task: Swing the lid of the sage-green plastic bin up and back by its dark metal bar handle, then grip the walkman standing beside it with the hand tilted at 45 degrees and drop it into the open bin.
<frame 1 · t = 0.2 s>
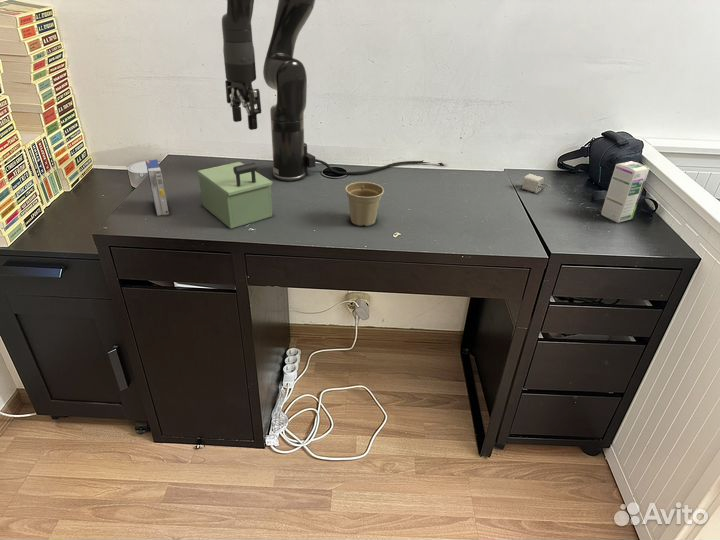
hand: (245, 125, 134), 17 cm above the table, tool pointing down, fingers open, 8 cm apart
walkman: (161, 209, 128), on the table
syrup box: (615, 217, 134), on the table
flower pot: (363, 221, 127), on the table
lid: (233, 168, 122), point 12 cm above the table, hinge at 0.0°
bin: (237, 211, 129), on the table
usb wall charger: (535, 191, 147), on the table
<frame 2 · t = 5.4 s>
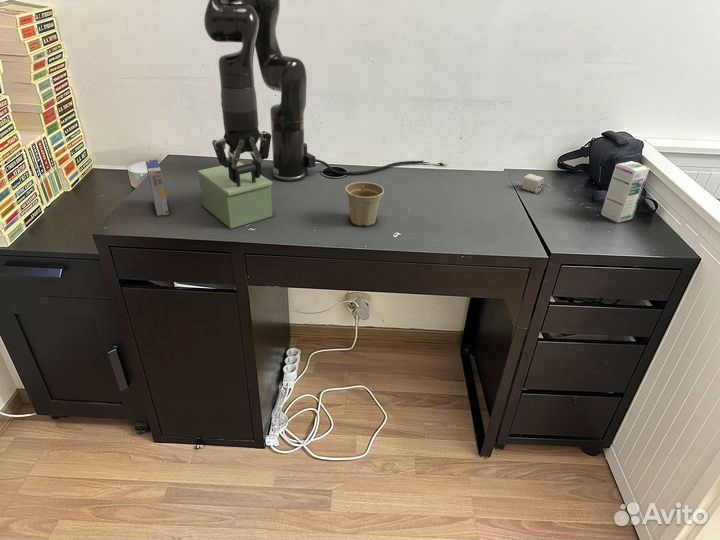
hand: (246, 179, 119), 11 cm above the table, tool pointing down, fingers closed on lid, 5 cm apart
lid: (233, 168, 122), point 12 cm above the table, hinge at -0.1°, touching gripper
everything else where it was.
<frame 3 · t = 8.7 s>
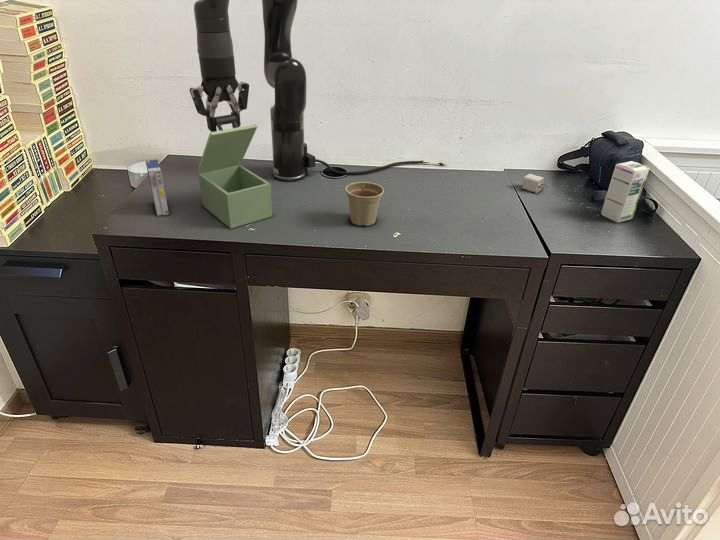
hand: (225, 130, 119), 20 cm above the table, tool pointing down, fingers closed on lid, 5 cm apart
lid: (222, 141, 122), point 17 cm above the table, hinge at 49.5°, touching gripper
everything else where it was.
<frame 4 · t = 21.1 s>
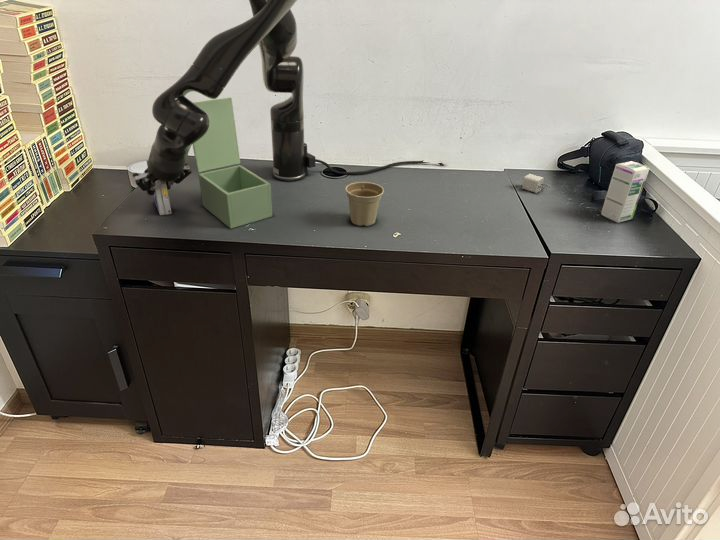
hand: (157, 190, 125), 5 cm above the table, tool tilted 45°, fingers closed on walkman, 3 cm apart
walkman: (163, 209, 129), on the table, touching gripper
lid: (210, 133, 127), point 17 cm above the table, hinge at 95.5°
everything else where it was.
when the fingers open (12 cm above the table, at t = 29.9 s): walkman drops 5 cm, resting on bin.
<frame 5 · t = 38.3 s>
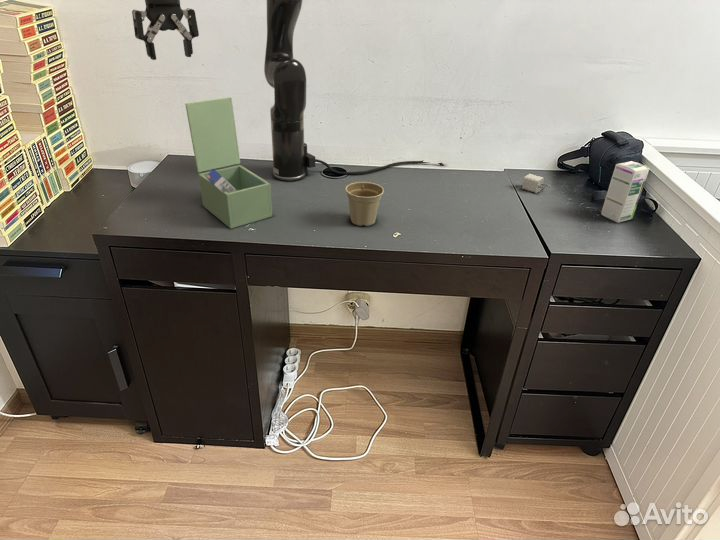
hand: (171, 58, 121), 34 cm above the table, tool pointing down, fingers open, 8 cm apart
walkman: (246, 207, 127), point 2 cm above the table, touching bin
everything else where it was.
at the end: lid at +96° (first picture: +0°); walkman inside the target area in the bin (3.1 cm from its centre), point 1.5 cm above the bin's base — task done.
